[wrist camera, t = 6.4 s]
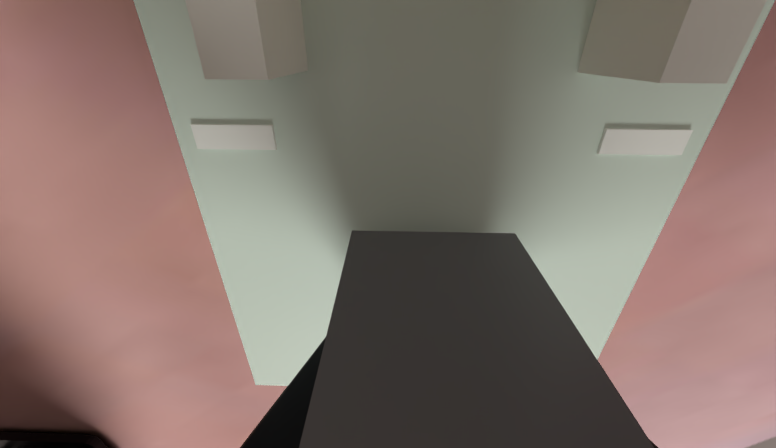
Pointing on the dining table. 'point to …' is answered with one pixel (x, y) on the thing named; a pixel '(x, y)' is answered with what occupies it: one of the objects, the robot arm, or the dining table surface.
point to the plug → (457, 353)
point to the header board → (437, 137)
